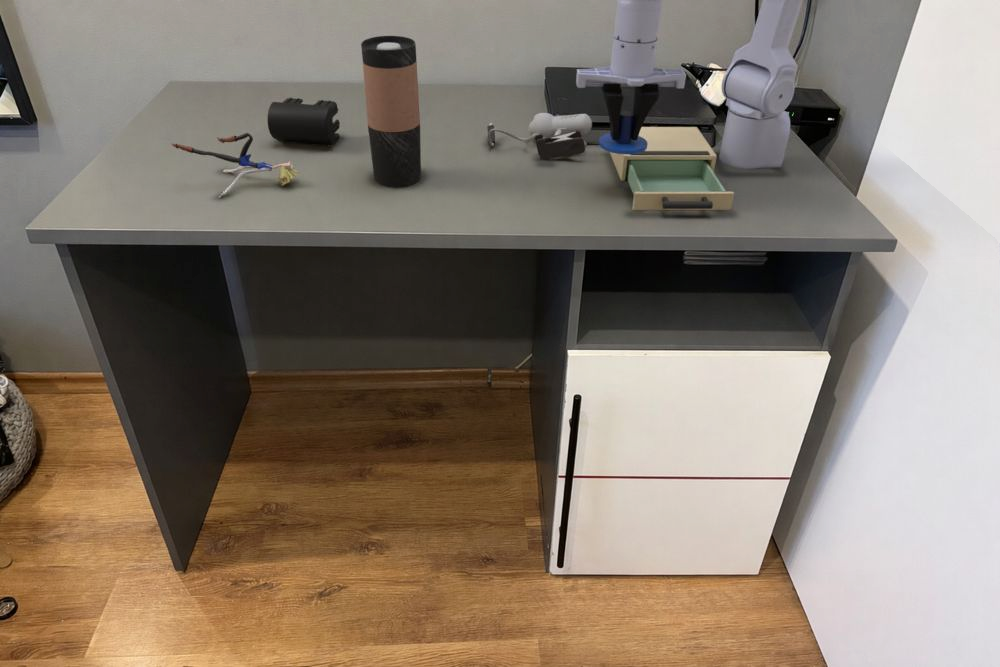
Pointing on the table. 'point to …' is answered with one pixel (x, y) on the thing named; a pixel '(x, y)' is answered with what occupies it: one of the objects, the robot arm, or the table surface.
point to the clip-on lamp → (554, 134)
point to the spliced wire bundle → (245, 161)
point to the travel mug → (392, 109)
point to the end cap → (303, 122)
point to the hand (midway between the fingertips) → (623, 137)
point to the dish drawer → (668, 147)
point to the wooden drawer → (676, 185)
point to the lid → (624, 137)
